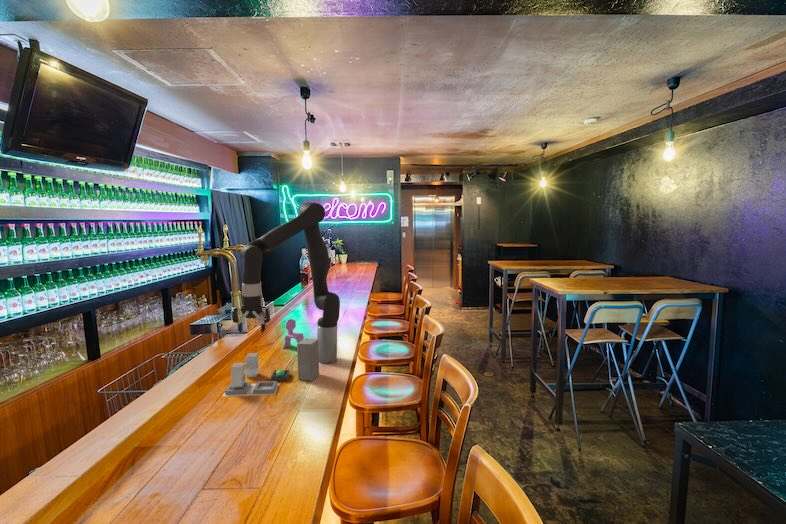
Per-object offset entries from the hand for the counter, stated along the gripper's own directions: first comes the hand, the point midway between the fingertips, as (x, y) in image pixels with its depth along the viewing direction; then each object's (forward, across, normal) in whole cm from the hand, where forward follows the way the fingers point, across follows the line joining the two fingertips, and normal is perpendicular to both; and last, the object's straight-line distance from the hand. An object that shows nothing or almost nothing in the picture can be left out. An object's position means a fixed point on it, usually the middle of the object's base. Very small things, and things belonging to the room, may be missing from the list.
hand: (252, 332), depth 151 cm
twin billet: (+19, -2, -13) cm, 23 cm away
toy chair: (+20, +12, +35) cm, 42 cm away
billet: (+20, 0, 0) cm, 20 cm away
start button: (+19, +12, -3) cm, 23 cm away
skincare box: (+20, +23, 0) cm, 30 cm away
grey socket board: (+20, +3, -13) cm, 24 cm away
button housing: (+20, +12, -3) cm, 23 cm away
